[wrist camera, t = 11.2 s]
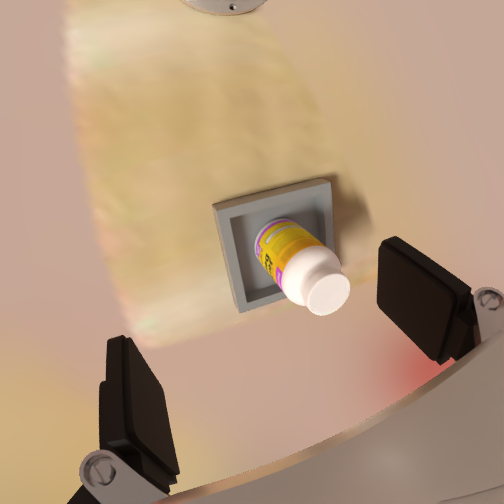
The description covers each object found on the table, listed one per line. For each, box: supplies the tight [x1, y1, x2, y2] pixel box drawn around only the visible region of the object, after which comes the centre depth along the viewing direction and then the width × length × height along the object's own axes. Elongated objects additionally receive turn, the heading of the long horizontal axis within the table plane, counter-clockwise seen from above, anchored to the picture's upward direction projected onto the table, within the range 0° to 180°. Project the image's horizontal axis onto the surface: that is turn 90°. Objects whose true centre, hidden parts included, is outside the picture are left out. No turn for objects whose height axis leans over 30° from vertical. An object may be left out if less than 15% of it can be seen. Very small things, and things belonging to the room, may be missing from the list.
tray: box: [212, 178, 335, 313], centre depth 40 cm, size 14×14×2 cm
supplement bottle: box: [255, 219, 350, 315], centre depth 35 cm, size 7×7×13 cm
